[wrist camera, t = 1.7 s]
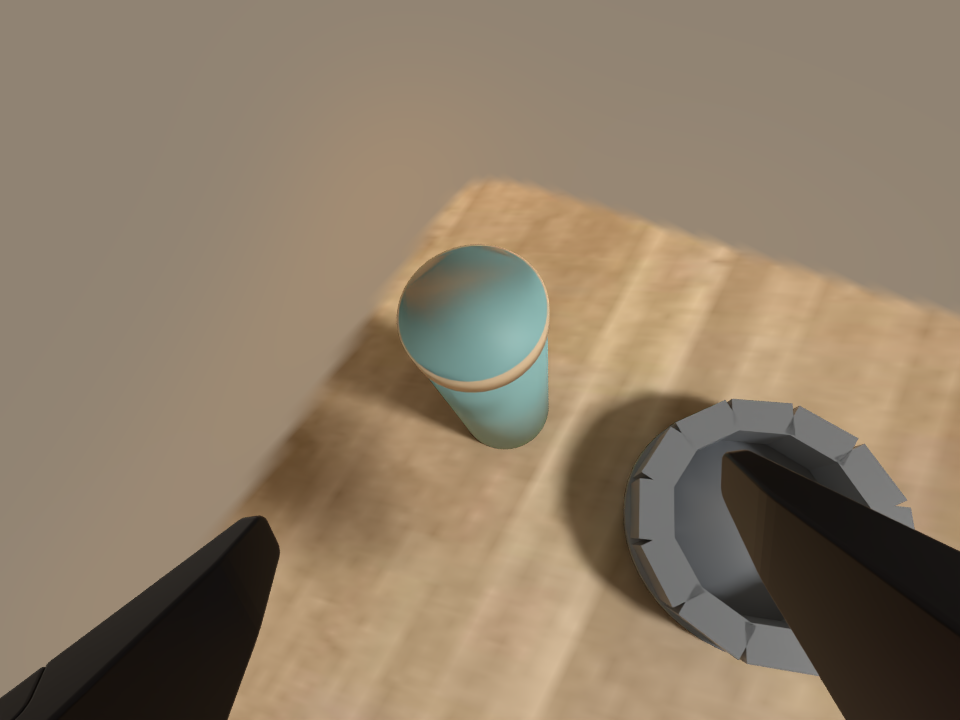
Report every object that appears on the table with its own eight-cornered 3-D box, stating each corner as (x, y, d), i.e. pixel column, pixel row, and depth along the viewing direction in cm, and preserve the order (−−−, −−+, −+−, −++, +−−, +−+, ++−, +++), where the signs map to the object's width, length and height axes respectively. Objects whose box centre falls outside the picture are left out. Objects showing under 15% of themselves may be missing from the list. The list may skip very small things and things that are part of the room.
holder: (893, 680, 16) (953, 706, 14) (620, 635, 18) (631, 651, 15) (855, 422, 19) (899, 406, 17) (625, 403, 21) (635, 386, 18)
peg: (545, 454, 21) (542, 389, 11) (455, 445, 21) (383, 376, 12) (552, 367, 22) (554, 246, 13) (467, 361, 23) (411, 242, 13)
